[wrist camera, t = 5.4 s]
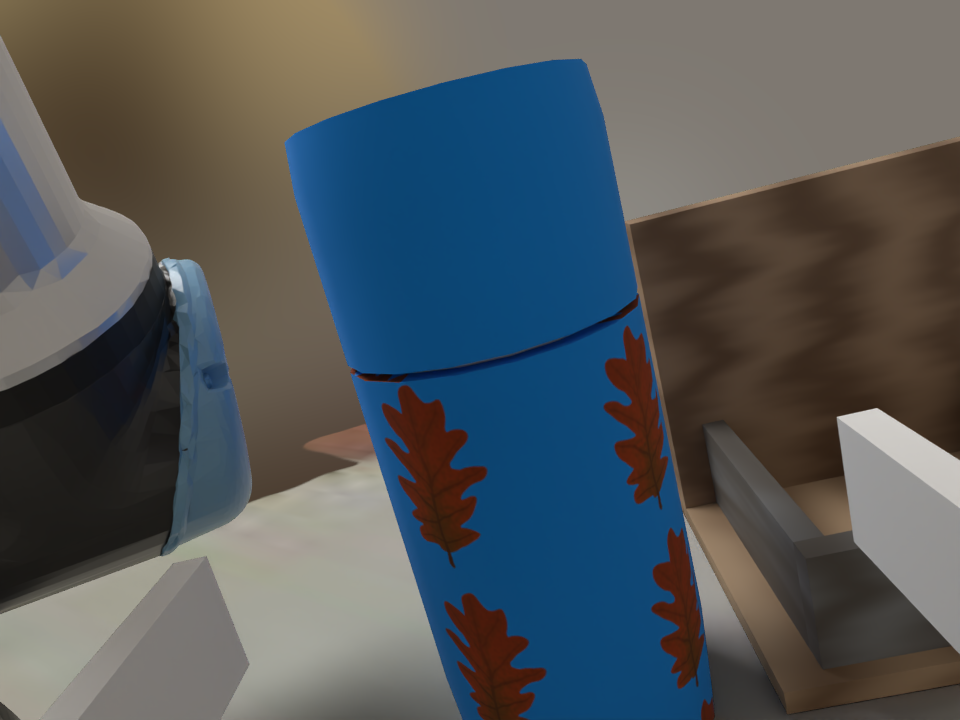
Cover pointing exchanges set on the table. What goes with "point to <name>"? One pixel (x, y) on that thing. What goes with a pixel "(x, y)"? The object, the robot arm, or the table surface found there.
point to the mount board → (808, 400)
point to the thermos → (511, 391)
